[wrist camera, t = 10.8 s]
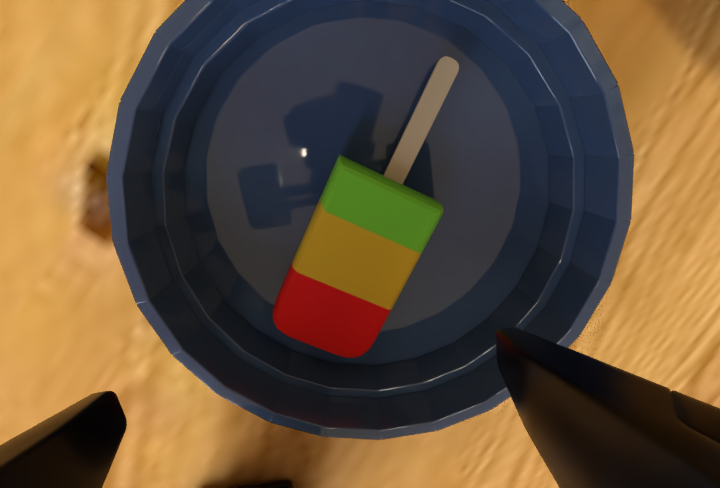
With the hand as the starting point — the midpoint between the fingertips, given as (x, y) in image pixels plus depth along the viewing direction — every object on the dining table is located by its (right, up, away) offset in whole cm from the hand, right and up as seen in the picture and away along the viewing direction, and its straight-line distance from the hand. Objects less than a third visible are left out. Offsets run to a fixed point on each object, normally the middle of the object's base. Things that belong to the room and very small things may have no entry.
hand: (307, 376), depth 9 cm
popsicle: (+2, +5, +10) cm, 12 cm away
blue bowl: (+2, +5, +11) cm, 12 cm away
